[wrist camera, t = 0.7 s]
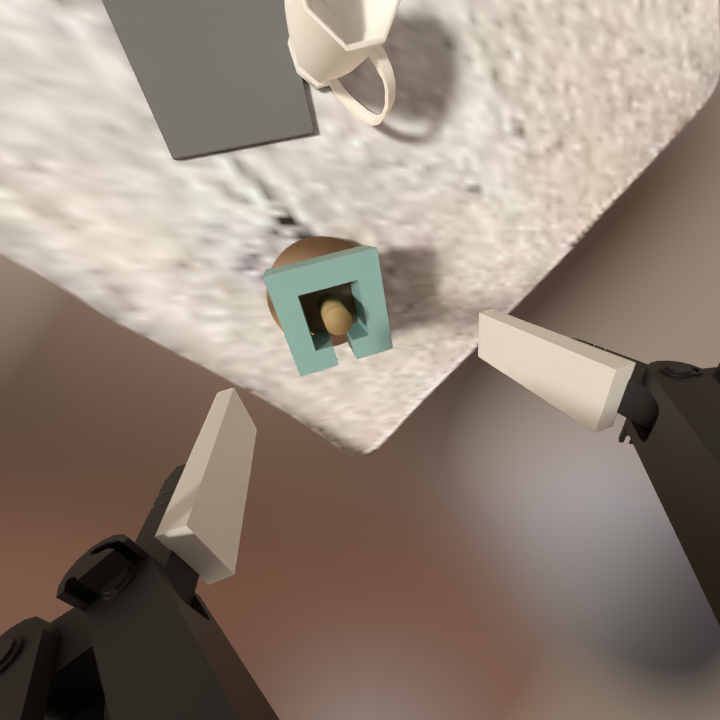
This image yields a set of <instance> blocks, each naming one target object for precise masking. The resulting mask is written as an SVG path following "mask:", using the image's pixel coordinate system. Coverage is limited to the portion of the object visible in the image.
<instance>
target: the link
mask: <svg viewBox="0 0 720 720" xmlns="http://www.w3.org/2000/svg"><path fill="white" fill-rule="evenodd" d="M263 279H264V282H265V284H266V287H267V290H268V292H269V295H270V298H271V300H272V303H273V305H274V308H275V311H276V313H277V316H278V319H279V321H280V324H281V326H282V329H283V332H284V334H285V337H286V340H287V342H288V345H289V348H290V350H291V353H292V355H293V358H294V361H295V363H296V366H297V369H298V371H299V374H300V377H301V376H304V375H307V374H311V373H314V372H317V371H320V370H324V369H327V368H330V367H333V366H337V365H338V361H337V358H336V354H335V351H334V347H333V344H332V342H331V339H330V337H329V334H328V332H327V331H325V332H321V333H318V334H314V335H312V334H311V331H310V328H309V325H308V322H307V319H306V316H305V312H304V309H303V306H302V303H301V300H300V297H299V295H303V294H307V293H311V292H314V291H318V290H322V289H326V288H329V287H333V286H337V285H340V284H344V283H348V282H350V285H351V289H352V294H353V299H354V303H355V308H356V312H357V317H358V321H359V322H356V323H352V327H351V329H350V330H349V331H348V332H347V333H346V336H347V340H348V344H349V346H350V347H351V349H352V351H353V353H354V355H355V357H356V358H357V359H359V358H363V357H366V356H369V355H373V354H376V353H379V352H382V351H386V350H389V349H392V348H393V346H392V339H391V333H390V327H389V320H388V314H387V308H386V301H385V295H384V289H383V282H382V276H381V270H380V263H379V257H378V251H377V248H376V247H371V246H365V245H363V246H359V247H355V248H351V249H347V250H343V251H339V252H335V253H331V254H327V255H323V256H319V257H315V258H311V259H307V260H303V261H299V262H295V263H291V264H287V265H283V266H279V267H275V268H271V269H267V270H266V271H265V273H264V275H263Z"/></svg>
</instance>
